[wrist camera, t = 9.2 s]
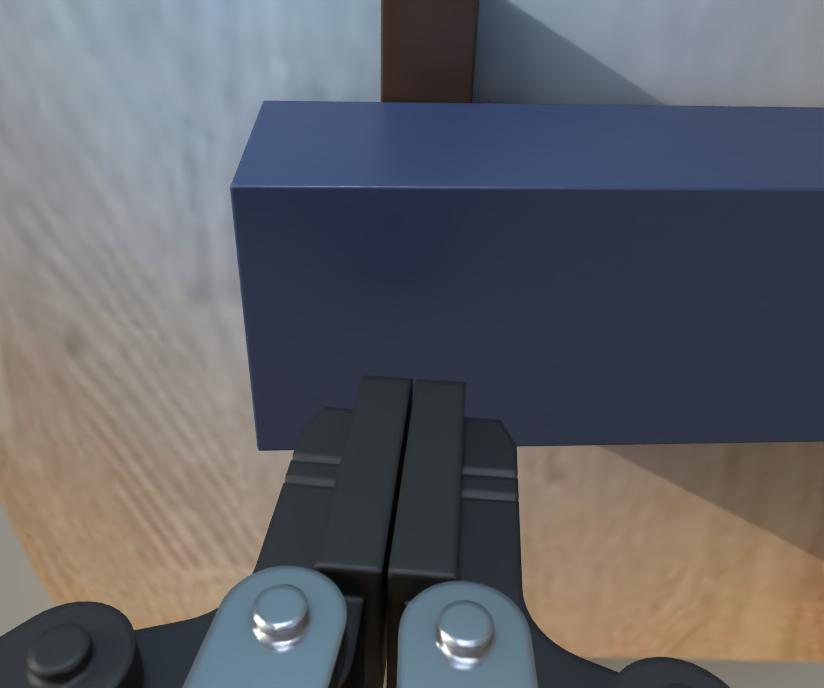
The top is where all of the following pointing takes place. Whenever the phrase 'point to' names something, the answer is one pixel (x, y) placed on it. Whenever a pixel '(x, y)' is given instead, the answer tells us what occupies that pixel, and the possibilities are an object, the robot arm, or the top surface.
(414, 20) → the stop strip
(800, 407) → the navy box
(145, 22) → the top surface
